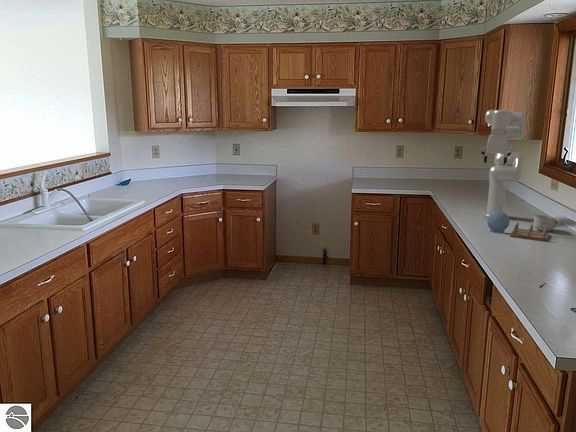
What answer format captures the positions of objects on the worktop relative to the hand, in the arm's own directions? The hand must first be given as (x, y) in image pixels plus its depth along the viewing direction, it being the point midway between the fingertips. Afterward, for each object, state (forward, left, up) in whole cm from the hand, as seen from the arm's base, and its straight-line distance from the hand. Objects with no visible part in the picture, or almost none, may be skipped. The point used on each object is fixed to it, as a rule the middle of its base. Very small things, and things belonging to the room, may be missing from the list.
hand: (494, 163), depth 273 cm
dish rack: (+14, +23, -36) cm, 44 cm away
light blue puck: (+14, +7, -36) cm, 39 cm away
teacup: (-4, +29, -36) cm, 46 cm away
